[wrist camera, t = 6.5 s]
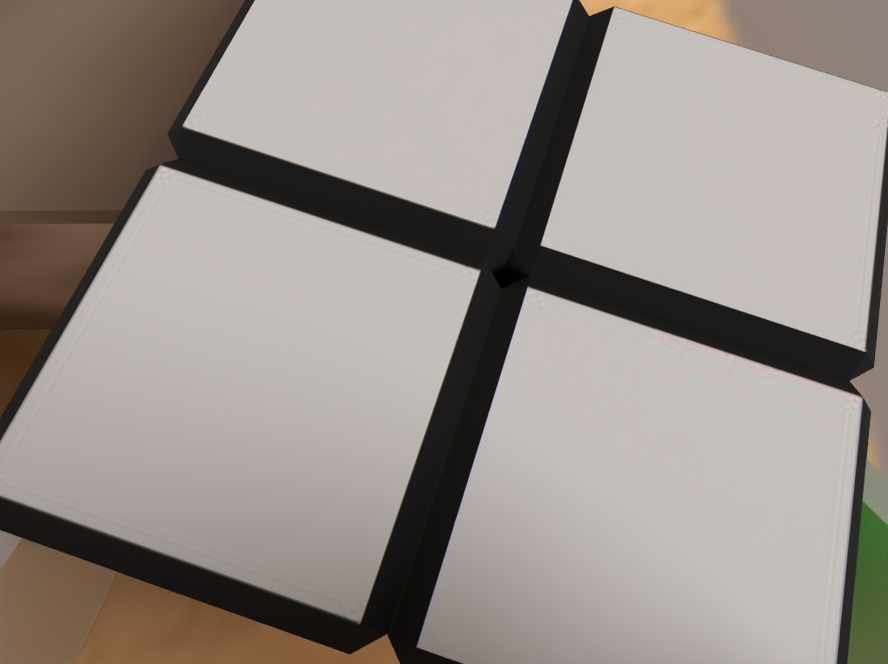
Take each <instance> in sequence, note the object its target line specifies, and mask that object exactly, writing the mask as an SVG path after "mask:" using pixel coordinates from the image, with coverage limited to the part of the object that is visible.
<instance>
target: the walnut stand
mask: <svg viewBox="0 0 888 664" xmlns="http://www.w3.org/2000/svg"><path fill="white" fill-rule="evenodd" d="M244 1H245V0H0V329H35V328H54V326H55V324H56V322H57V321H58V319H59V317H60V316H61V314H62V312H63V310H64V309H65V307H66V305H67V304H68V302H69V300H70V299H71V297H72V295H73V293H74V292H75V290H76V288H77V287H78V285H79V283H80V281H81V280H82V278H83V276H84V275H85V273H86V271H87V270H88V268H89V266H90V264H91V263H92V261H93V259H94V258H95V256H96V254H97V252H98V251H99V249H100V247H101V246H102V244H103V242H104V240H105V239H106V237H107V235H108V234H109V232H110V230H111V229H112V227H113V225H114V223H115V222H116V220H117V218H118V217H119V215H120V213H121V211H122V210H123V208H124V206H125V205H126V203H127V201H128V199H129V198H130V196H131V194H132V193H133V191H134V189H135V188H136V186H137V184H138V182H139V181H140V179H141V177H142V176H143V174H144V172H145V170H148V169H150V168H152V167H154V166H157V165H159V164H162V163H165V162H169V161H173V160H176V159H178V157H177V155H176V152H175V150H174V148H173V146H172V143H171V141H170V139H169V137H168V134H167V133H168V131H169V129H170V128H171V126H172V124H173V123H174V121H175V119H176V118H177V116H178V114H179V112H180V111H181V109H182V107H183V106H184V104H185V102H186V100H187V99H188V97H189V95H190V94H191V92H192V90H193V88H194V87H195V85H196V83H197V82H198V80H199V78H200V77H201V75H202V73H203V71H204V70H205V68H206V66H207V65H208V63H209V61H210V59H211V58H212V56H213V54H214V53H215V51H216V49H217V47H218V46H219V44H220V42H221V41H222V39H223V37H224V36H225V34H226V32H227V30H228V29H229V27H230V25H231V24H232V22H233V20H234V18H235V17H236V15H237V13H238V12H239V10H240V8H241V6H242V5H243V3H244Z"/></svg>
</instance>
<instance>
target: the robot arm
mask: <svg viewBox="0 0 888 664" xmlns="http://www.w3.org/2000/svg"><path fill="white" fill-rule="evenodd" d="M117 573H118V572H116V571H114V570H111V569H108V568H105V567H102V566H99V565H97V564H94V563H91V562H88V561H85V560H83V559H80V558H77V557H74V556H71V555H68V554H66V553H63V552H60V551H57V550H54V549H51V548H49V547H46V546H43V545H40V544H37V543H35V542H32V541H29V540H26V539H23V538H20V537H18V536H15V535H12V534H9V533H6V532H4V531H1V530H0V664H76V661H77V659H78V657H79V655H80V653H81V651H82V648H83V646H84V644H85V642H86V640H87V638H88V636H89V633H90V631H91V629H92V627H93V625H94V623H95V620H96V618H97V616H98V614H99V612H100V610H101V608H102V605H103V603H104V601H105V599H106V597H107V595H108V592H109V590H110V588H111V586H112V584H113V582H114V580H115V577H116V575H117ZM847 664H888V477H887V476H886V475H885V474H883V473H882V472H881V471H880V470H879V469H878V468H877V467H876V466H874V465H873V464H872V463H871V462H870V461H869V460H868V459H866V470H865V481H864V491H863V502H862V513H861V523H860V534H859V545H858V555H857V566H856V576H855V587H854V598H853V608H852V619H851V630H850V640H849V651H848V661H847Z"/></svg>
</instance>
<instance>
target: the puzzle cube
mask: <svg viewBox="0 0 888 664" xmlns="http://www.w3.org/2000/svg"><path fill="white" fill-rule="evenodd" d="M167 134H168V137H169V139H170V141H171V143H172V146H173V148H174V150H175V152H176V155H177V157H178V159H176V160H173V161H169V162H165V163H162V164H159V165H157V166H154V167H152V168H150V169H148V170H145V172H144V174H143V176H142V177H141V179H140V181H139V182H138V184H137V186H136V188H135V189H134V191H133V193H132V194H131V196H130V198H129V199H128V201H127V203H126V205H125V206H124V208H123V210H122V211H121V213H120V215H119V217H118V218H117V220H116V222H115V223H114V225H113V227H112V229H111V230H110V232H109V234H108V235H107V237H106V239H105V240H104V242H103V244H102V246H101V247H100V249H99V251H98V252H97V254H96V256H95V258H94V259H93V261H92V263H91V264H90V266H89V268H88V270H87V271H86V273H85V275H84V276H83V278H82V280H81V281H80V283H79V285H78V287H77V288H76V290H75V292H74V293H73V295H72V297H71V299H70V300H69V302H68V304H67V305H66V307H65V309H64V310H63V312H62V314H61V316H60V317H59V319H58V321H57V322H56V324H55V326H54V328H53V329H52V331H51V333H50V334H49V336H48V338H47V340H46V341H45V343H44V345H43V346H42V348H41V350H40V351H39V353H38V355H37V357H36V358H35V360H34V362H33V363H32V365H31V367H30V369H29V370H28V372H27V374H26V375H25V377H24V379H23V381H22V382H21V384H20V386H19V387H18V389H17V391H16V392H15V394H14V396H13V398H12V399H11V401H10V403H9V404H8V406H7V408H6V410H5V411H4V413H3V415H2V416H1V418H0V530H1V531H4V532H6V533H9V534H12V535H15V536H18V537H20V538H23V539H26V540H29V541H32V542H35V543H37V544H40V545H43V546H46V547H49V548H51V549H54V550H57V551H60V552H63V553H66V554H68V555H71V556H74V557H77V558H80V559H83V560H85V561H88V562H91V563H94V564H97V565H99V566H102V567H105V568H108V569H111V570H114V571H116V572H119V573H122V574H125V575H128V576H130V577H133V578H136V579H139V580H142V581H145V582H147V583H150V584H153V585H156V586H159V587H161V588H164V589H167V590H170V591H173V592H176V593H178V594H181V595H184V596H187V597H190V598H192V599H195V600H198V601H201V602H204V603H207V604H209V605H212V606H215V607H218V608H221V609H223V610H226V611H229V612H232V613H235V614H238V615H240V616H243V617H246V618H249V619H252V620H254V621H257V622H260V623H263V624H266V625H269V626H271V627H274V628H277V629H280V630H283V631H286V632H288V633H291V634H294V635H297V636H300V637H302V638H305V639H308V640H311V641H314V642H317V643H319V644H322V645H325V646H328V647H331V648H333V649H336V650H339V651H342V652H345V653H348V654H351V653H353V652H355V651H357V650H359V649H361V648H362V647H364V646H366V645H368V644H370V643H371V642H373V641H375V640H377V639H379V638H381V637H382V636H384V635H386V634H388V637H389V639H390V642H391V644H392V646H393V648H394V651H395V653H396V655H397V657H398V660H399V662H400V664H847V661H848V651H849V640H850V630H851V619H852V608H853V598H854V587H855V576H856V566H857V555H858V545H859V534H860V523H861V513H862V502H863V491H864V481H865V470H866V459H867V449H868V438H869V427H870V417H871V411H870V409H869V407H868V405H867V403H866V402H865V400H864V398H863V396H862V395H861V394H860V393H859V392H858V391H857V389H856V388H855V387H854V386H853V385H852V384H851V382H850V380H852V379H854V378H856V377H857V376H859V375H861V374H863V373H865V372H867V371H868V370H870V369H872V368H874V361H875V351H876V340H877V329H878V319H879V309H880V298H881V287H882V277H883V266H884V256H885V245H886V235H887V224H888V92H887V91H883V90H880V89H877V88H874V87H870V86H867V85H864V84H861V83H858V82H854V81H851V80H848V79H845V78H842V77H839V76H835V75H832V74H829V73H825V72H822V71H819V70H816V69H813V68H810V67H806V66H803V65H800V64H797V63H794V62H791V61H787V60H784V59H781V58H778V57H774V56H771V55H768V54H765V53H762V52H758V51H755V50H752V49H749V48H746V47H743V46H739V45H736V44H733V43H730V42H727V41H723V40H720V39H717V38H714V37H711V36H707V35H704V34H701V33H698V32H695V31H691V30H688V29H685V28H682V27H679V26H675V25H672V24H669V23H666V22H663V21H659V20H656V19H653V18H650V17H647V16H643V15H640V14H637V13H634V12H631V11H627V10H624V9H621V8H618V7H615V6H614V7H612V8H609V9H607V10H604V11H601V12H599V13H596V14H594V15H591V16H589V15H588V14H587V12H586V10H585V9H584V7H583V5H582V4H581V2H580V1H579V0H245V1H244V3H243V5H242V6H241V8H240V10H239V12H238V13H237V15H236V17H235V18H234V20H233V22H232V24H231V25H230V27H229V29H228V30H227V32H226V34H225V36H224V37H223V39H222V41H221V42H220V44H219V46H218V47H217V49H216V51H215V53H214V54H213V56H212V58H211V59H210V61H209V63H208V65H207V66H206V68H205V70H204V71H203V73H202V75H201V77H200V78H199V80H198V82H197V83H196V85H195V87H194V88H193V90H192V92H191V94H190V95H189V97H188V99H187V100H186V102H185V104H184V106H183V107H182V109H181V111H180V112H179V114H178V116H177V118H176V119H175V121H174V123H173V124H172V126H171V128H170V129H169V131H168V133H167Z"/></svg>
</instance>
